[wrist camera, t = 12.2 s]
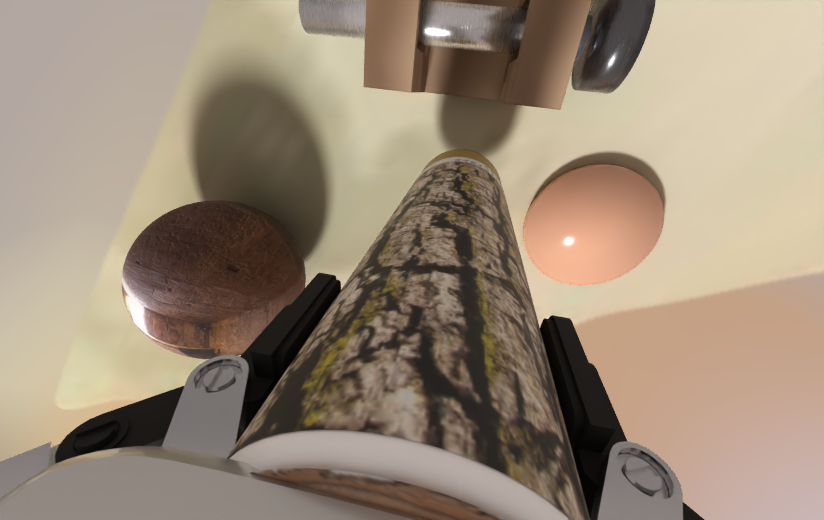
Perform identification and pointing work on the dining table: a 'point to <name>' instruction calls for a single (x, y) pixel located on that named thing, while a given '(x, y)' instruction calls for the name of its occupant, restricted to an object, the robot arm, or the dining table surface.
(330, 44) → the dining table surface
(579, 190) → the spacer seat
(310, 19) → the shaft
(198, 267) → the wooden sphere
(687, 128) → the dining table surface
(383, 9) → the bearing housing
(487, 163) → the paper tube
